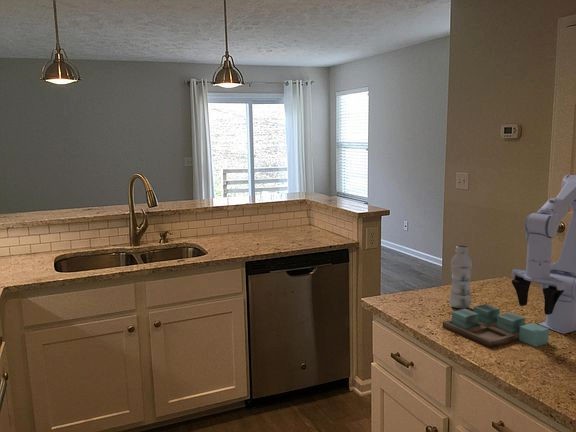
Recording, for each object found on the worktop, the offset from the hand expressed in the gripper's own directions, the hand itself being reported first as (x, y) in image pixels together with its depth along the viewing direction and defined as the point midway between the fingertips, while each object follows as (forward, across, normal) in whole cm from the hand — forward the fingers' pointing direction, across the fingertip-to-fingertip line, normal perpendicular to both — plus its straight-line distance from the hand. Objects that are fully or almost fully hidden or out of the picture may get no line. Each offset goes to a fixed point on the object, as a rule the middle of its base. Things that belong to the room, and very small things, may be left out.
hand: (535, 309), depth 136 cm
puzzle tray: (+9, -11, -5) cm, 15 cm away
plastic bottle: (+9, -29, +3) cm, 31 cm away
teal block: (+9, 0, 0) cm, 9 cm away
